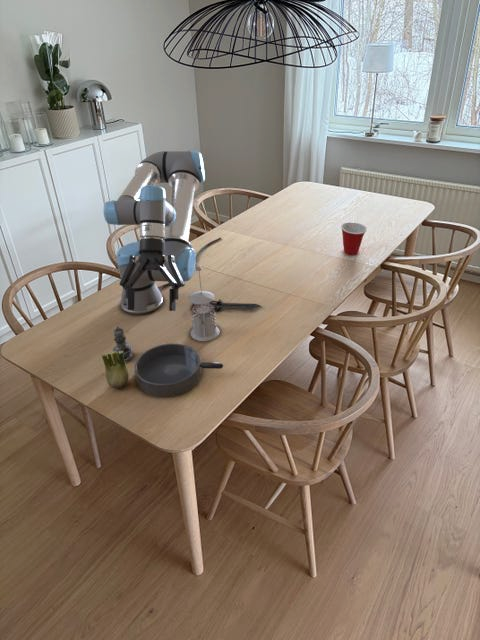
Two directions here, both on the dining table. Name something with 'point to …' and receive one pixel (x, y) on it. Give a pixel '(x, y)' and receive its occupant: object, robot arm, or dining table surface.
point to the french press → (203, 315)
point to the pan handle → (211, 365)
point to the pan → (168, 370)
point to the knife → (232, 305)
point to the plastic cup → (352, 237)
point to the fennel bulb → (115, 369)
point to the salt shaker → (122, 344)
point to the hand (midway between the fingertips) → (151, 310)
